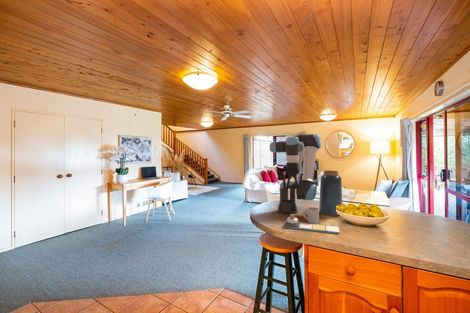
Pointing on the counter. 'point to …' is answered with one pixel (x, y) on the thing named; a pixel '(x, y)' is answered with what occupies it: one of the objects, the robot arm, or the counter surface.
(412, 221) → the counter surface
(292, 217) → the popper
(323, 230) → the game board
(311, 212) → the cup
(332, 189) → the vase
